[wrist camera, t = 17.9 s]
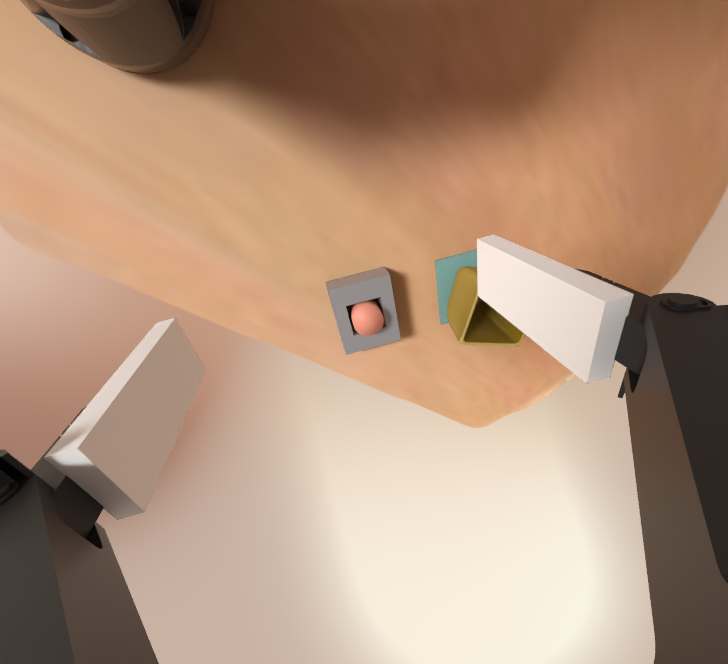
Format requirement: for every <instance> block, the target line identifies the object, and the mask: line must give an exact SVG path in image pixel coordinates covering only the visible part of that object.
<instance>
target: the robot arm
mask: <svg viewBox="0 0 728 664" xmlns="http://www.w3.org/2000/svg"><path fill="white" fill-rule="evenodd" d="M20 1H21V2H22V3H23V4H24V5H25V6H26V7H27V8H28V9H29V10H30V11H31V13H32V14H34V15H35V16H36V17H37V18H38V19H39V20H40V21H41V22H42V23H43V24H44V25H45V26H46V27H48V28H49V29H50V30H51V31H52V32H54V33H55V34H56V35H57V36H59V37H60V38H61V39H63V40H64V41H65V42H67V43H68V44H70V45H71V46H73V47H74V48H76V49H78V50H79V51H81V52H83V53H85V54H87V55H89V56H91V57H93V58H95V59H97V60H99V61H101V62H103V63H106V64H108V65H110V66H113V67H116V68H119V69H122V70H126V71H131V72H137V73H155V72H161V71H165V70H168V69H171V68H173V67H175V66H177V65H179V64H181V63H182V62H184V61H185V60H186V59H187V58H189V57H190V56H191V55H192V54H193V53H194V51H195V50H196V49H197V48H198V46H199V45H200V43H201V41H202V40H203V38H204V36H205V33H206V31H207V29H208V26H209V23H210V19H211V15H212V10H213V2H214V0H20ZM477 284H478V296H479V297H480V298H481V299H482V300H483V301H485V302H486V303H487V304H488V305H490V306H491V307H492V308H493V309H495V310H496V311H497V312H498V313H500V314H501V315H502V316H503V317H505V318H506V319H507V320H508V321H509V322H511V323H512V324H513V325H514V326H516V327H517V328H518V329H519V330H521V331H522V332H523V333H524V334H526V335H527V336H528V337H529V338H530V339H532V340H533V341H534V342H535V343H537V344H538V345H539V346H540V347H542V348H543V349H544V350H545V351H547V352H548V353H549V354H550V355H552V356H553V357H554V358H555V359H556V360H558V361H559V362H560V363H561V364H563V365H564V366H565V367H566V368H568V369H569V370H570V371H571V372H573V373H574V374H575V375H576V376H578V377H579V378H580V379H581V380H582V381H584V382H585V383H586V384H588V383H591V382H594V381H598V380H601V379H605V378H608V377H611V373H612V370H613V366H614V362H615V360H616V361H618V362H619V363H621V364H622V365H624V366H625V367H627V369H626V372H625V375H624V378H623V381H622V385H621V388H620V391H619V394H618V397H619V398H623V395H624V393H626V402H627V410H628V418H629V426H630V434H631V443H632V451H633V459H634V468H635V476H636V483H637V492H638V500H639V509H640V516H641V525H642V533H643V542H644V550H645V558H646V566H647V575H648V583H649V591H650V599H651V607H652V616H653V623H654V631H655V660H654V664H728V305H720V306H717V305H716V304H714V303H713V302H712V301H709V300H707V299H704V298H702V297H698V296H694V295H690V294H681V293H663V294H658V295H654V296H652V297H650V296H647V295H645V294H642V293H640V292H638V291H635V290H633V289H630V288H628V287H625V286H623V285H621V284H618V283H613V281H611V280H608V279H606V278H602V277H601V276H599V275H596V274H594V273H592V272H589V271H584V270H579V269H574V268H571V267H569V266H566V265H564V264H562V263H559V262H557V261H555V260H552V259H550V258H548V257H545V256H543V255H541V254H538V253H536V252H534V251H531V250H529V249H527V248H524V247H522V246H519V245H517V244H515V243H512V242H510V241H508V240H505V239H503V238H501V237H498V236H496V235H490V236H486V237H482V238H479V239H477ZM205 371H206V368H205V366H204V364H203V363H202V361H201V360H200V358H199V356H198V355H197V353H196V352H195V350H194V348H193V346H192V345H191V343H190V341H189V340H188V338H187V336H186V335H185V333H184V331H183V330H182V328H181V326H180V325H179V323H178V321H177V320H176V318H173V319H169V320H165V321H161V322H158V323H156V324H155V325H154V327H153V328H152V329H151V330H150V331H149V333H148V334H147V335H146V336H145V337H144V339H143V340H142V341H141V342H140V343H139V345H138V346H137V347H136V348H135V349H134V350H133V352H132V353H131V354H130V355H129V356H128V358H127V359H126V360H125V361H124V362H123V364H122V365H121V366H120V367H119V368H118V370H117V371H116V372H115V373H114V374H113V376H112V377H111V378H110V379H109V380H108V382H107V383H106V384H105V385H104V386H103V387H102V389H101V390H100V391H99V392H98V394H97V395H96V396H95V397H94V398H93V399H92V401H91V402H90V403H89V404H88V405H87V406H86V407H85V408H84V409H82V410H81V411H80V413H79V414H78V415H77V416H76V417H75V419H74V420H73V421H72V422H71V425H69V426H68V427H67V428H66V429H65V430H64V432H63V433H62V436H60V437H58V439H57V440H56V441H55V442H54V444H53V445H52V446H51V447H50V448H49V449H48V451H47V452H46V453H45V454H44V455H43V456H42V458H41V459H40V460H39V461H38V462H37V463H36V465H35V466H34V467H33V468H32V469H31V470H30V469H28V468H27V467H26V466H24V465H23V464H22V463H21V462H20V461H18V460H17V459H16V458H14V457H13V456H12V455H11V454H9V453H8V452H7V451H6V450H0V664H159V663H158V661H157V658H156V656H155V654H154V651H153V649H152V646H151V644H150V641H149V639H148V636H147V634H146V631H145V629H144V626H143V624H142V621H141V619H140V616H139V614H138V611H137V609H136V606H135V604H134V602H133V599H132V596H131V594H130V591H129V589H128V586H127V584H126V582H125V579H124V577H123V574H122V572H121V569H120V567H119V564H118V562H117V559H116V557H115V555H114V552H113V549H112V547H111V544H110V542H109V539H108V537H107V535H106V532H105V530H104V528H102V527H101V526H100V525H99V524H98V523H97V522H96V520H97V519H98V517H99V515H100V513H101V511H102V510H103V508H104V509H105V510H106V511H107V512H109V513H110V514H111V515H112V516H113V517H114V518H116V519H117V520H119V519H122V518H125V517H129V516H132V515H136V514H139V513H142V512H145V510H146V508H147V506H148V504H149V501H150V499H151V497H152V494H153V492H154V490H155V487H156V485H157V483H158V480H159V478H160V476H161V473H162V471H163V468H164V466H165V464H166V462H167V459H168V457H169V455H170V453H171V450H172V448H173V446H174V443H175V441H176V439H177V436H178V434H179V431H180V429H181V427H182V425H183V422H184V420H185V418H186V415H187V413H188V411H189V408H190V406H191V403H192V401H193V399H194V397H195V394H196V392H197V390H198V387H199V385H200V383H201V380H202V378H203V376H204V373H205Z"/></svg>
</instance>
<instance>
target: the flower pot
mask: <svg viewBox="0 0 728 664" xmlns="http://www.w3.org/2000/svg"><path fill="white" fill-rule="evenodd" d="M447 317H448V321H449V324H450V326H451V328H452V330H453V331H454V333H455V335H456V337H457V339H458V341H459V343H460V344H461V345H493V346H519V345H520V344H521V342H522V341H523V339H524V337H525V335H526V334H524V333H523V332H522V331H521V330H519V329H518V328H517V327H516V326H514V325H513V324H512V323H511V322H509V321H508V320H507V319H506V318H505V317H503V316H502V315H501V314H500V313H498V312H497V311H496V310H495V309H493V308H492V307H491V306H490V305H488V304H487V303H486V302H485V301H483V300H482V299H481V298H480V297H479V296H478V284H477V268H473V267H461V268H460V269H459V270H458V271H457V274H456V277H455V281H454V284H453V287H452V291H451V294H450V297H449V301H448V306H447Z"/></svg>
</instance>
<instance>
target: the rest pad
mask: <svg viewBox="0 0 728 664" xmlns="http://www.w3.org/2000/svg"><path fill="white" fill-rule="evenodd" d="M435 265H436V277H437V289H438V301H439V312H440V323H441V324H444V323H448V322H449V321H448V317H447V306H448V301H449V297H450V294H451V291H452V287H453V284H454V281H455V277H456V274H457V271H458V270H459V269H460V268H461V267H473V268H477V250H474V251H470V252H466V253H462V254H459V255H455V256H451V257H447V258H443V259H440V260H436V261H435Z"/></svg>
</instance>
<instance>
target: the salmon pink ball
mask: <svg viewBox="0 0 728 664" xmlns="http://www.w3.org/2000/svg"><path fill="white" fill-rule="evenodd" d="M349 312H350V316H351V319H352V322H353V325H354V328H355V330H356V331H357V332H358V333H359V334H361V335H366V336H369V335H373V334H375V333H377V332H378V331H380V329H381V328H382V327H383V324H384V317H383V314H382V313H381V311H380V309H379V307H378V305H377V303H376V301H375V300H374V299H371V300H368V301H364V302H360V303H356V304H353V305H350V307H349Z"/></svg>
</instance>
